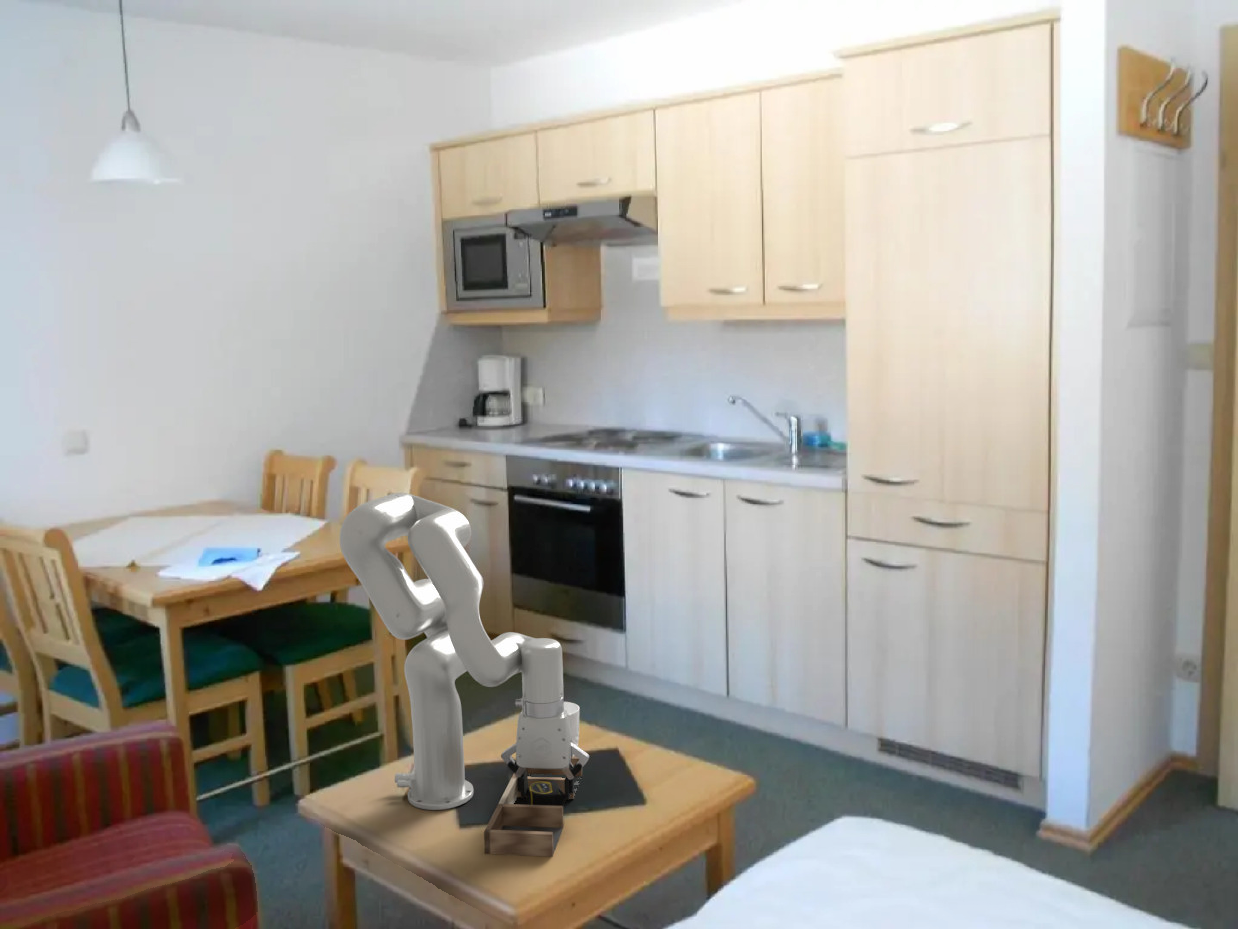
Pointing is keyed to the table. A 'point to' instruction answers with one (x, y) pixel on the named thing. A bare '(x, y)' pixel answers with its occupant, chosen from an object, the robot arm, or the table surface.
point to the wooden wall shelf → (527, 820)
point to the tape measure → (545, 794)
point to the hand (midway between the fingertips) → (546, 795)
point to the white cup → (573, 720)
